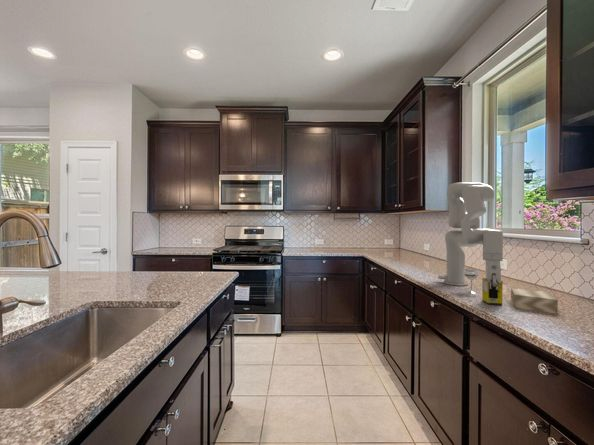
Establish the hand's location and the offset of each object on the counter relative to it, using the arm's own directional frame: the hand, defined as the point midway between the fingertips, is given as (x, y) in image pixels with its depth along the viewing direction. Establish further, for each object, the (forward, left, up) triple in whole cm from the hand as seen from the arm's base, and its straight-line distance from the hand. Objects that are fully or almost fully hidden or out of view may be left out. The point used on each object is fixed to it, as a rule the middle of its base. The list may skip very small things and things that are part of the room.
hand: (492, 295), depth 130 cm
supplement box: (0, 0, -4) cm, 4 cm away
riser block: (+15, +3, -4) cm, 16 cm away
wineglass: (-7, +18, -4) cm, 20 cm away
